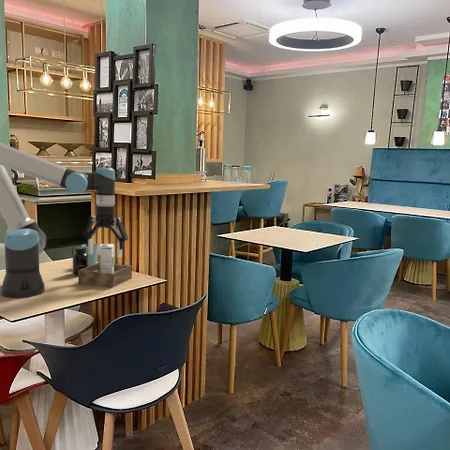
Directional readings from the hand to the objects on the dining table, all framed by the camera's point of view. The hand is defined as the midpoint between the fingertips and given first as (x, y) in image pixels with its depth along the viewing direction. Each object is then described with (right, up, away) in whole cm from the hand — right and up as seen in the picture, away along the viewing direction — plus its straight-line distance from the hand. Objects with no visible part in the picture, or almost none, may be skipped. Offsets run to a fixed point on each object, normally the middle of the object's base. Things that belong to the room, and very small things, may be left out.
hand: (105, 255), depth 190 cm
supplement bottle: (-14, -9, +11) cm, 20 cm away
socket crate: (0, -11, +2) cm, 11 cm away
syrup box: (0, -10, +1) cm, 10 cm away
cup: (-14, -7, +26) cm, 30 cm away
